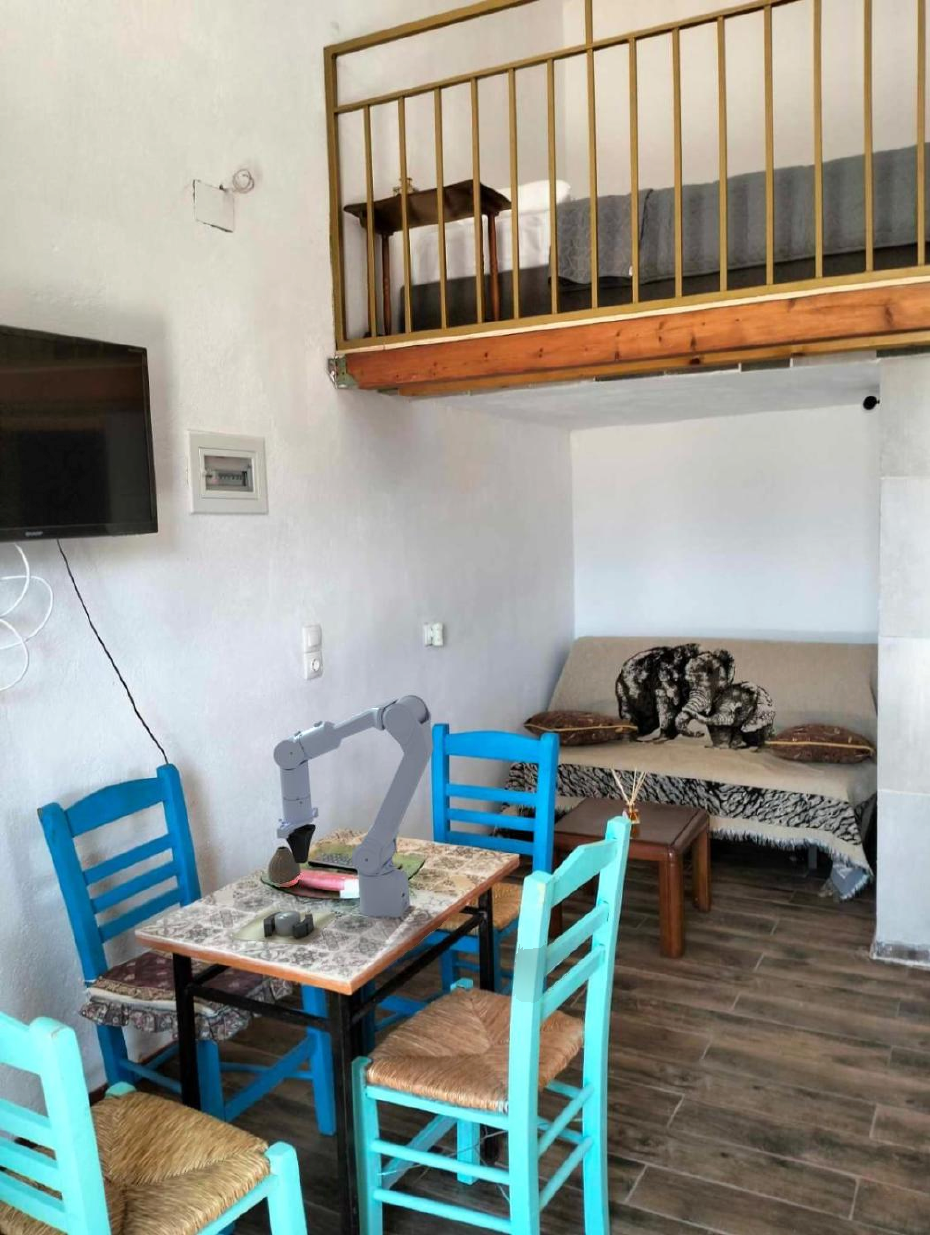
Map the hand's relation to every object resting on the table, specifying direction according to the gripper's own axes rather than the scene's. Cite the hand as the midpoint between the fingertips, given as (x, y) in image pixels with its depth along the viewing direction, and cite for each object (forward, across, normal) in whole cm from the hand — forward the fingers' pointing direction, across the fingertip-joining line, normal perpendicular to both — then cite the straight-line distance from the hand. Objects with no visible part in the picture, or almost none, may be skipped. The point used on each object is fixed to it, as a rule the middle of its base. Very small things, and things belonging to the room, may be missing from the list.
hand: (301, 862), depth 200 cm
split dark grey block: (+9, +12, +3) cm, 15 cm away
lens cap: (+9, +12, +2) cm, 15 cm away
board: (+10, +10, +1) cm, 14 cm away
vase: (+10, -11, -10) cm, 18 cm away
